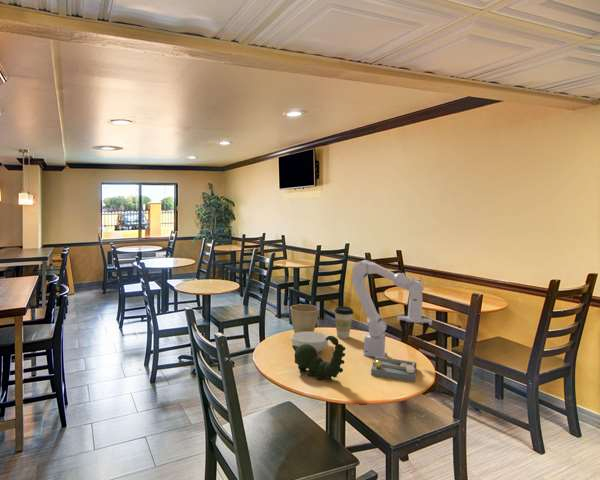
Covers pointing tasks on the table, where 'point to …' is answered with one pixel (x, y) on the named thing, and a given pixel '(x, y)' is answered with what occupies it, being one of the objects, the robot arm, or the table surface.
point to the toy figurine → (319, 360)
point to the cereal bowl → (310, 339)
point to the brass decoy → (378, 364)
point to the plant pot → (304, 317)
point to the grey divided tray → (393, 369)
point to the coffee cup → (343, 321)
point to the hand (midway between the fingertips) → (413, 338)
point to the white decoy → (410, 369)
